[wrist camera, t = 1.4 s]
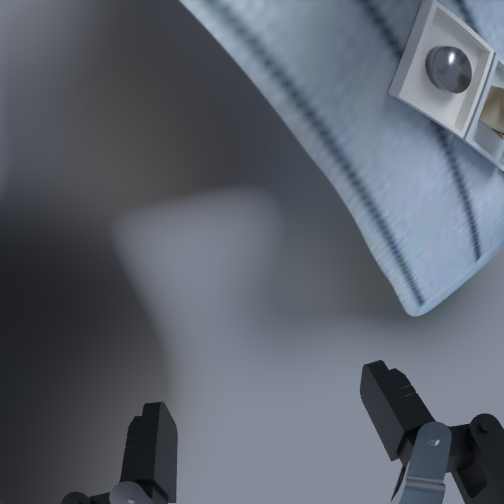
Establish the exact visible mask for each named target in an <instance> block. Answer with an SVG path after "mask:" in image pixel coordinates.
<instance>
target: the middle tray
mask: <svg viewBox="0 0 504 504" xmlns="http://www.w3.org/2000/svg"><path fill="white" fill-rule="evenodd" d="M491 85H492V86H496V87H500V88H503V89H504V60H503V59H502V58H501V57H500V56H499V55H498V54H497V53H495V52H494V54H493V58H492V61H491V64H490V67H489V70H488V74H487V77H486V80H485V82H484V85H483V88H482V91H481V94H480V97H479V99H478V102H477V105H476V107H475V110H474V113H473V115H472V118H471V120H470V123H469V125H468V128H467V130H466V132H465V135H464V137H463V139H462V138H460V137H458V136H456V135H454V134H453V135H454V136H456V137H457V138H459V139H460V140H461V141H463V142H464V143H465V144H467V145H468V146H470V147H471V148H472V149H473V150H475V151H476V152H477V153H479V154H480V155H481V156H483V157H484V158H485V159H486V160H488V161H489V162H490V163H491V164H493V165H494V166H495V167H496V168H498V169H500V170H501V171H503V172H504V140H502V139H500V138H499V137H498V136H497V135H495V134H494V133H493V132H492V131H491V130H490V129H489V128H488V127H487V126H485V125H484V124H483V123H482V122H481V121H480V120H479V117H480V115H481V112H482V109H483V107H484V104H485V101H486V98H487V96H488V93H489V90H490V87H491Z"/></svg>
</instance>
